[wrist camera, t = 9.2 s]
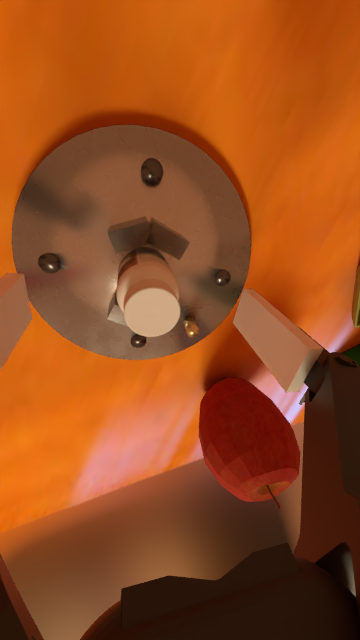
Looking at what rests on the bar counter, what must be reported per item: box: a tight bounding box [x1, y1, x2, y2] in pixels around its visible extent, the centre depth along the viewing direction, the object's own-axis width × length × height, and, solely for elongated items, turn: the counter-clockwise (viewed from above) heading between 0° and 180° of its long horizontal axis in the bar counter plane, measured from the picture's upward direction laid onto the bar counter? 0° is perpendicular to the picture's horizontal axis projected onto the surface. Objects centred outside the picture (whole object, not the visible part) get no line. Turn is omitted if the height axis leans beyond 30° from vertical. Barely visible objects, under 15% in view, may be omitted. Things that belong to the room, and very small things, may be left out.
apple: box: [199, 378, 300, 509], centre depth 26 cm, size 10×10×14 cm
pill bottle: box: [116, 247, 180, 337], centre depth 17 cm, size 4×4×8 cm
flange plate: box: [12, 125, 251, 360], centre depth 20 cm, size 20×20×4 cm
